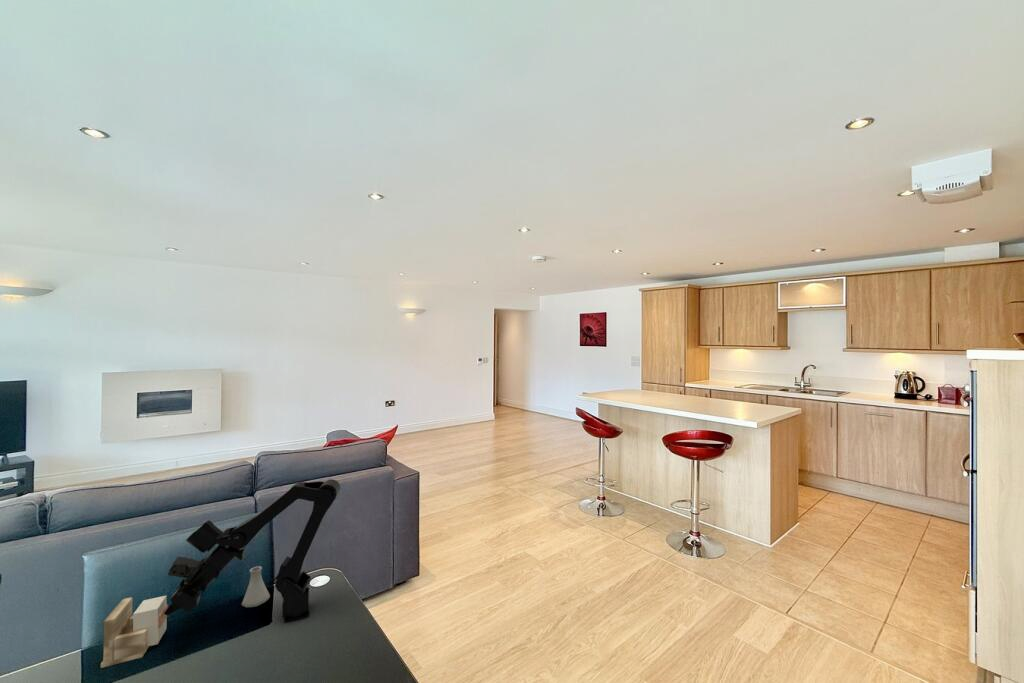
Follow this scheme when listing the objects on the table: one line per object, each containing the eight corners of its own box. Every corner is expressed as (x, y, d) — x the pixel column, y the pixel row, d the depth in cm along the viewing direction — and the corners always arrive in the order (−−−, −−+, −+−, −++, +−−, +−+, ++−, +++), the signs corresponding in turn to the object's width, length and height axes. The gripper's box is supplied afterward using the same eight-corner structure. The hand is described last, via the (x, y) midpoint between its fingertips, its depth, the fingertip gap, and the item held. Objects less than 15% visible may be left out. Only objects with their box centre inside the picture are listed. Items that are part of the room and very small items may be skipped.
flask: (256, 609, 125) (256, 575, 125) (236, 607, 126) (236, 573, 127) (274, 595, 132) (274, 563, 132) (255, 594, 133) (255, 562, 134)
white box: (168, 628, 115) (168, 595, 115) (159, 643, 109) (159, 608, 109) (143, 634, 113) (143, 600, 113) (132, 650, 106) (133, 614, 107)
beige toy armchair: (159, 631, 116) (160, 591, 116) (144, 656, 106) (145, 612, 106) (120, 641, 112) (120, 599, 113) (100, 668, 102) (101, 621, 103)
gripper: (199, 534, 124) (152, 581, 119) (180, 560, 107) (124, 616, 102) (231, 555, 127) (185, 602, 121) (217, 584, 110) (164, 640, 105)
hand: (166, 613), depth 112 cm, fingers closed
